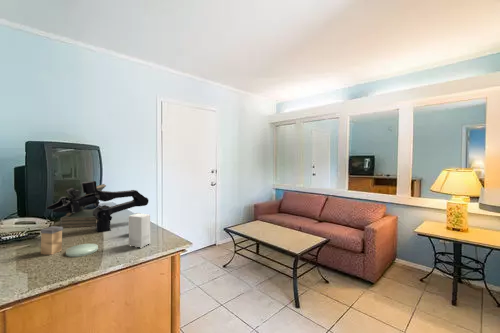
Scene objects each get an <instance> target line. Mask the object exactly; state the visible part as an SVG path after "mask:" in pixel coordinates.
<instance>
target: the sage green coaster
mask: <svg viewBox="0 0 500 333" xmlns="http://www.w3.org/2000/svg"><path fill="white" fill-rule="evenodd" d="M98 250H99V245H98V244H96V243H83V244H82V243H80V244H78V245H77V244H76V245H73V246H70V247H69V248H66V250H65V256H66V257H70V258H78V257H84V256H89V255H93V254H94V253H96V252H97V251H98Z"/></svg>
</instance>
